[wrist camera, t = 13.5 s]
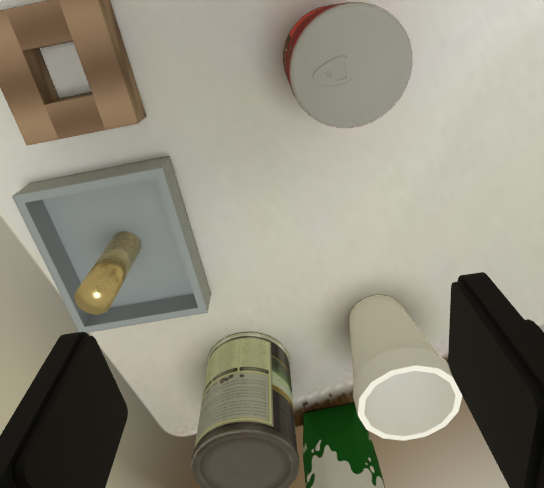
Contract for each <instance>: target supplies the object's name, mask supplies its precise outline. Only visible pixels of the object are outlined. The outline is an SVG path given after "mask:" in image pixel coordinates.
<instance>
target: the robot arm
mask: <svg viewBox="0 0 544 488" xmlns="http://www.w3.org/2000/svg"><path fill="white" fill-rule="evenodd" d="M448 363H449V368H450V372H451V374H452V377H453V378H454V380H455V382H456V384H457V386H458V388H459V390H460V392H461V394H462V396H463V398H464V400H465V402H466V404H467V406H468V408H469V409H470V411H471V413H472V415H473V417H474V419H475V421H476V423H477V425H478V427H479V429H480V431H481V433H482V435H483V437H484V439H485V441H486V443H487V445H488V447H489V448H490V450H491V452H492V454H493V456H494V458H495V460H496V462H497V464H498V466H499V468H500V470H501V471H502V473H503V476H504V478H505V479H506V481H507V483H508V485H509V487H510V488H544V332H543V331H542V330H541V329H540V328H539V326H538V325H537V324H535V323H534V322H533V321H531V320H529V319H528V320H524V319H523V318H522V316H521V315H520V314H519V313H518V312H517V310H516V309H515V308H514V307H513V306H512V304H511V303H510V302H509V301H508V300H507V298H506V297H505V296H504V295H503V294H502V292H501V291H500V290H499V289H498V288H497V286H496V285H495V284H494V283H493V282H492V280H491V279H490V278H489V277H488V276H487V275H486V274H485V273H483V272H481V273H475V274H468V275H461V276H459V278H458V282H453V283H452V285H451V305H450V330H449V355H448ZM127 415H128V410H127V406H126V403H125V401H124V399H123V396H122V394H121V392H120V390H119V388H118V386H117V384H116V381H115V379H114V377H113V375H112V373H111V371H110V369H109V367H108V365H107V362H106V360H105V358H104V356H103V354H102V352H101V350H100V347H99V345H98V343H97V341H96V339H95V338H94V337H93V336H89V335H88V334H87V333H86V332H77V333H71V334H64V335H61V336H60V337H59V339H58V340H57V342H56V344H55V345H54V347H53V349H52V351H51V352H50V354H49V355H48V357H47V359H46V360H45V362H44V364H43V365H42V367H41V369H40V370H39V372H38V374H37V375H36V377H35V379H34V381H33V382H32V384H31V385H30V387H29V389H28V390H27V392H26V394H25V396H24V397H23V399H22V400H21V402H20V404H19V405H18V407H17V409H16V411H15V412H14V414H13V415H12V417H11V419H10V421H9V422H8V424H7V426H6V427H5V429H4V430H3V432H2V434H1V436H0V488H105V486H106V483H107V480H108V477H109V474H110V471H111V468H112V465H113V461H114V458H115V455H116V452H117V449H118V446H119V443H120V439H121V436H122V433H123V430H124V427H125V424H126V421H127Z"/></svg>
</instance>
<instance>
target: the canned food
mask: <svg viewBox="0 0 544 488" xmlns="http://www.w3.org/2000/svg"><path fill="white" fill-rule="evenodd" d="M283 63H284V70H285V73H286V76H287V79H288V81H289V84H290V86H291V89H292V91H293V94H294V96H295V98H296V99H297V101H298V102H299V104H300V106H301V107H302V108H303V109H304V110H305V111H306V112H307V113H308V114H309V115H310V116H311V117H313V118H314V119H316V120H317V121H319V122H321V123H323V124H326V125H328V126H333V127H338V128H353V127H358V126H363V125H365V124H368V123H371V122H373V121H375V120H376V119H378V118H380V117H381V116H383V115H384V114H385V113H386V112H388V111H389V110H390V109H391V108H392V107H393V106H394V105H395V104H396V102H397V101H398V100H399V99H400V97H401V95H402V94H403V92H404V90H405V88H406V86H407V84H408V81H409V78H410V75H411V69H412V49H411V44H410V40H409V38H408V35H407V33H406V31H405V29H404V28H403V26H402V25H401V24H400V22H399V21H398V20H397V19H396V18H395V17H394V16H393V15H391V14H390V13H389V12H388V11H386V10H384V9H382V8H380V7H378V6H376V5H372V4H367V3H358V2H347V3H341V4H335V5H329V6H324V7H320V8H317V9H315V10H313V11H311V12H309V13H308V14H306V15H305V16H303V17H302V18H301V19H300V20H299V21H298V22H297V23H296V24H295V25H294V27H293V28H292V30H291V31H290V33H289V35H288V38H287V40H286V43H285V47H284V51H283Z"/></svg>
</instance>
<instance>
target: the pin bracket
mask: <svg viewBox="0 0 544 488" xmlns="http://www.w3.org/2000/svg"><path fill="white" fill-rule="evenodd" d="M71 41H73V42H74V44H75V47H76V50H77V53H78V55H79V58H80V61H81V64H82V67H83V69H84V72H85V75H86V78H87V80H88V83H89V86H90V89H91V92H90V93H85V94H80V95H76V96H71V97H66V98H61V99H59V97H58V95H57V92H56V90H55V87H54V85H53V82H52V80H51V77H50V75H49V72H48V70H47V67H46V65H45V62H44V60H43V57H42V55H41V52H40V50H39V48H42V47H47V46H52V45H57V44H61V43H66V42H71ZM0 88H1V90H2V92H3V94H4V96H5V99H6V101H7V103H8V105H9V107H10V110H11V112H12V114H13V116H14V119H15V121H16V123H17V125H18V127H19V130H20V132H21V134H22V136H23V138H24V141H25V143H26V145H32V144H37V143H42V142H47V141H52V140H57V139H62V138H67V137H72V136H77V135H82V134H87V133H92V132H97V131H103V130H108V129H113V128H118V127H123V126H128V125H133V124H138V123H139V122H140V121H141V120H143V119H144V118H145V117H146V114H145V111H144V108H143V105H142V101H141V98H140V95H139V92H138V89H137V85H136V82H135V79H134V76H133V73H132V69H131V66H130V63H129V60H128V57H127V53H126V50H125V47H124V44H123V41H122V38H121V34H120V31H119V28H118V25H117V22H116V18H115V15H114V12H113V9H112V6H111V2H110V0H47V1H43V2H38V3H33V4H29V5H24V6H20V7H15V8H11V9H6V10H2V11H0Z"/></svg>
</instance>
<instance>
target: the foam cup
mask: <svg viewBox="0 0 544 488" xmlns="http://www.w3.org/2000/svg"><path fill="white" fill-rule="evenodd" d="M349 324H350V326H349V328H350V340H351V352H352V365H353V377H354V389H353V398H354V402H355V406H356V410H357V414H358V417H359V418H360V420H361V421H362V423H363V425H364V426H365V428H366V429H367V430H369V431H370V432H372V433H374V434H376V435H378V436H380V437H381V438H386V439H395V440H403V441H404V440H410V439H414V438H420V437H425V436H428V435H430V434H431V433H433V432H435V431H437V430H439V429H441V428H443V427H445V426H446V425H447V424H448V423H449V422H450V420H451V419H452V418H453V417H454V416H455V415H456V414H457V412H458V411H459V407H460V403H461V399H462V394H461V392H460V390H459V388H458V386H457V384H456V382H455V380H454V378H453V377H452V374H451V372H450V368H449V366H448V364H447V362H446V360H444V359H443V358H441V357H440V356H439V354H438V353H437V352H436V350H435V349H434V348H433V346H432V345H431V344H430V342H429V341H428V340H427V339H426V337H425V336H424V335H423V333H422V332H421V331H420V329H419V328H418V327H417V325H416V324H415V323H414V321H413V320H412V319H411V317H410V316H409V315H408V313H407V312H406V311H405V309H404V308H403V307H402V305H400V303H399V302H398V301H396V300H395V299H393V298H392V297H390V296H384V295H374V296H370V297H366V298H364V299H363V300H361V301H360V302H358V303H357V304H356V305H355V306H354V308H353V309H352V311H351V312H350V319H349Z"/></svg>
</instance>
